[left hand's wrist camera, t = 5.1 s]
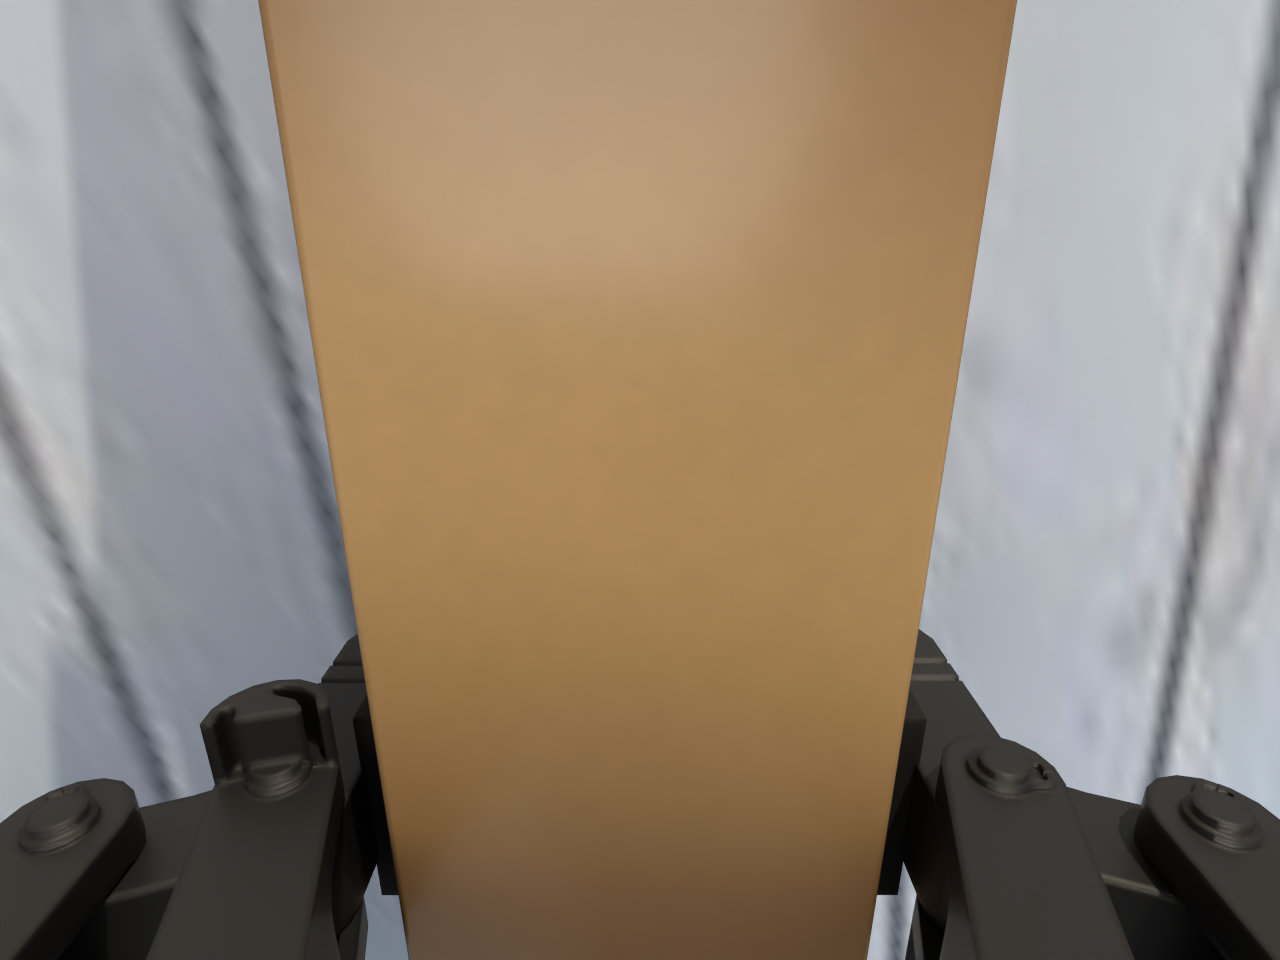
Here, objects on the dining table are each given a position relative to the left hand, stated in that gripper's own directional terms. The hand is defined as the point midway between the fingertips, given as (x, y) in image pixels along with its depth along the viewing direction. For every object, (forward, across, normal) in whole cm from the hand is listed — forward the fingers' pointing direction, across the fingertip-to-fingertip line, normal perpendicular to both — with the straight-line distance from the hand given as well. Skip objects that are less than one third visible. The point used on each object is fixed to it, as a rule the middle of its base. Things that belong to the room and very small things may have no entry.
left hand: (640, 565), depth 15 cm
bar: (+1, 0, -28) cm, 29 cm away
